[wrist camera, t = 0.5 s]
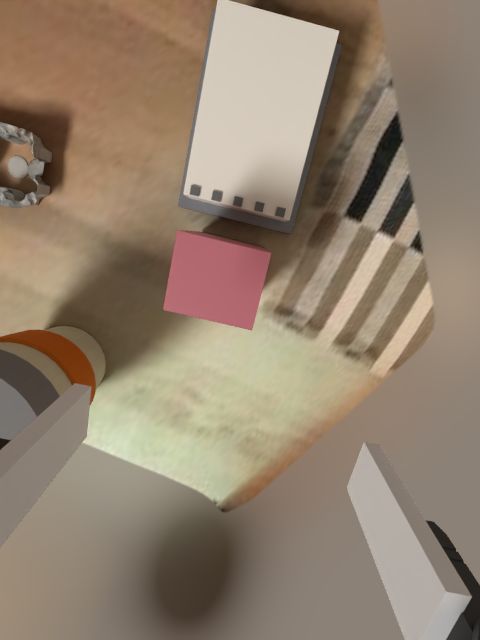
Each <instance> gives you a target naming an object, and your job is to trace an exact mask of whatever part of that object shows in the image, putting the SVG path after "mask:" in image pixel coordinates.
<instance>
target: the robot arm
mask: <svg viewBox="0 0 480 640" xmlns="http://www.w3.org/2000/svg"><path fill="white" fill-rule="evenodd" d="M90 397H91V386H86V385H82V384H77V383H75V384H74V385H72V386H71V387H70V388H69V389H68V390H67V391H66V392H65V393H64V394H62V395H61V396H60V397H59V398H58V399H57V400H56V401H55V402H53V403H52V404H51V405H50V406H49V407H48V408H47V409H46V410H45V411H43V412H42V413H41V414H40V415H39V416H38V417H37V418H36V419H34V420H33V421H32V422H31V423H30V424H29V425H28V426H27V427H26V428H24V429H23V430H22V431H21V432H20V433H19V434H18V435H17V436H15V437H14V438H13V439H12V440H8V439H2V438H0V548H1V546H2V545H3V544H4V543H5V541H6V540H7V539H8V537H9V536H10V535H11V533H12V532H13V531H14V530H15V528H16V527H17V526H18V524H19V523H20V522H21V521H22V519H23V518H24V517H25V515H26V514H27V513H28V512H29V510H30V509H31V508H32V506H33V505H34V504H35V502H36V501H37V500H38V498H39V497H40V496H41V495H42V493H43V492H44V491H45V490H46V488H47V487H48V486H49V484H50V483H51V482H52V481H53V479H54V478H55V477H56V475H57V474H58V473H59V471H60V470H61V469H62V468H63V466H64V465H65V464H66V462H67V461H68V460H69V459H70V457H71V456H72V455H73V453H74V452H75V451H76V450H77V448H78V447H79V446H80V444H81V443H82V442H83V441H84V439H85V438H86V437H87V427H88V417H89V407H90ZM347 490H348V492H349V495H350V498H351V500H352V503H353V506H354V508H355V510H356V513H357V516H358V518H359V521H360V524H361V526H362V529H363V532H364V534H365V537H366V539H367V542H368V545H369V547H370V550H371V552H372V555H373V558H374V560H375V563H376V565H377V568H378V571H379V573H380V576H381V578H382V581H383V584H384V586H385V589H386V592H387V594H388V597H389V599H390V602H391V604H392V607H393V610H394V612H395V615H396V617H397V620H398V623H399V625H400V628H401V630H402V633H403V636H404V638H405V640H480V585H479V584H478V582H477V581H476V579H475V578H474V576H473V575H472V573H471V571H470V570H469V568H468V567H467V565H466V564H464V562H463V559H462V558H461V556H460V555H459V553H458V552H456V548H455V547H454V545H453V544H452V543H451V541H450V539H449V538H448V537H447V535H446V534H445V533H444V532H443V531H442V530H441V529H440V528H439V527H438V526H437V525H436V524H435V523H434V522H432V521H426V520H425V519H424V517H423V515H422V514H421V512H420V511H419V509H418V507H417V506H416V504H415V503H414V501H413V499H412V497H411V496H410V494H409V493H408V491H407V489H406V488H405V486H404V485H403V483H402V481H401V479H400V478H399V476H398V475H397V473H396V471H395V470H394V468H393V466H392V465H391V463H390V461H389V460H388V458H387V457H386V455H385V453H384V452H383V450H382V448H381V447H380V445H377V444H371V443H367V442H364V444H363V447H362V449H361V452H360V454H359V457H358V460H357V462H356V465H355V468H354V470H353V473H352V476H351V478H350V481H349V483H348V486H347Z"/></svg>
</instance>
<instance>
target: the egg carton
mask: <svg viewBox="0 0 480 640" xmlns="http://www.w3.org/2000/svg"><path fill="white" fill-rule="evenodd" d="M0 138H2V139H5V140H8V141H10V142H13V143H15V144H20V145H22V144H25V143H28V144H29V145H30V147H31V153H32V154H33V156H34V157H35V159H33V160H32V161H31V162H30V163H29V165H28V163H27V161H26V160H25V159H24V158H23V157H21V156H13V157H11V158H10V159H9V161H8V163H7V167H8V171H9V173H10V174H11V175H12V176H14V177H15V178H17V179H23V178H25V177H26V176H27V175H28V174H29V176H30V178H31V179H32V180H33V181H35V182H36V183H37V185H38V188H37V191H36V192H31V193H28V194H24V193H23V192H22V191H20V190H16V189H12V188H7V187H0V205H3V206H8V207H14V208H17V207H24V206H29V205H38V204H39V201H40V199H41V198H43V197H45V196H49V193H50V186H48V185H47V184H45V183H44V182H43V181H42V179H41V176H42V174H43V169H44V164H45V163H49V162H51V156H52V153H51V152H50V151H48V150H47V149H46V148H45V147H44V146H43V144H42V142H41V139H40V138H38V137H37V136H36V135H34V134H33V133H32V132H27V130H25V129H22V128H19V127H16V126H12V125H9V124H6V123H2V122H0Z"/></svg>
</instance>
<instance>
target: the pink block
mask: <svg viewBox="0 0 480 640" xmlns="http://www.w3.org/2000/svg"><path fill="white" fill-rule="evenodd" d="M271 254H272V253H271V252H269V251H268V250H266V249H265V248H264V247H261V246H257V245H252V244H248V243H244V242H240V241H236V240H232V239H228V238H224V237H219V236H215V235H211V234H207V233H203V232H195V231H179V230H177V233H176V239H175V244H174V250H173V256H172V261H171V267H170V272H169V278H168V284H167V289H166V295H165V301H164V306H163V310H166V311H170V312H175V313H179V314H183V315H188V316H192V317H196V318H201V319H205V320H209V321H214V322H218V323H222V324H227V325H231V326H235V327H240V328H244V329H248V330H252V328H253V324H254V320H255V316H256V313H257V309H258V305H259V301H260V297H261V293H262V289H263V285H264V281H265V277H266V273H267V270H268V266H269V262H270V258H271Z"/></svg>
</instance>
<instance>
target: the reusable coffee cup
mask: <svg viewBox="0 0 480 640" xmlns="http://www.w3.org/2000/svg"><path fill="white" fill-rule="evenodd" d="M105 371H106V360H105V355H104V353H103V350H102V348H101V347H100V345H99V343H98V342H97V341H96V340H95V339H94V338H93V337H92V336H91V335H89V334H88V333H86V332H85V331H83V330H81V329H78V328H75V327H70V326H58V327H53V328H49V329H46V330H27V331H23V332H18V333H14V334H10V335H6V336H2V337H0V438H2V439H8V440H12V439H13V438H14V437H15V436H17V435H18V434H19V433H20V432H21V431H22V430H23V429H24V428H26V427H27V426H28V425H29V424H30V423H31V422H32V421H33V420H34V419H36V418H37V417H38V416H39V415H40V414H41V413H42V412H43V411H45V410H46V409H47V408H48V407H49V406H50V405H51V404H52V403H53V402H55V401H56V400H57V399H58V398H59V397H60V396H61V395H62V394H64V393H65V392H66V391H67V390H68V389H69V388H70V387H71V386H72V385H74V384H75V383H77V384H82V385H86V386H91V397H90V405H91V403H92V401H93V398H94V395H95V390H96V389H97V387H98V385H99V384H100V382H101V381H102V379H103V377H104V374H105Z"/></svg>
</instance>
